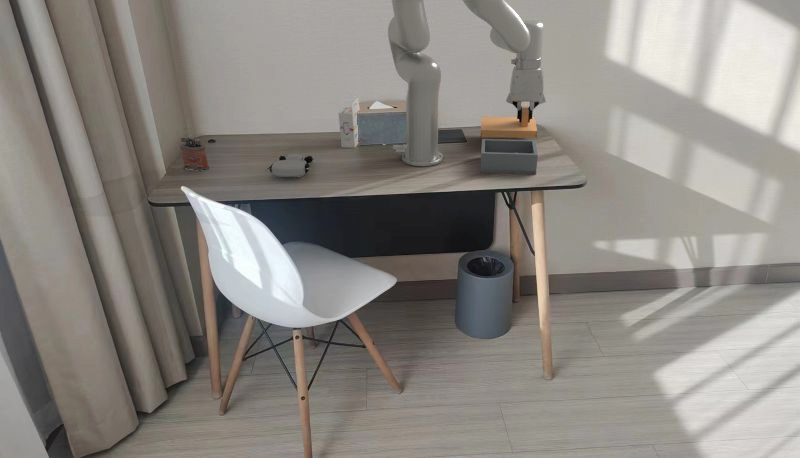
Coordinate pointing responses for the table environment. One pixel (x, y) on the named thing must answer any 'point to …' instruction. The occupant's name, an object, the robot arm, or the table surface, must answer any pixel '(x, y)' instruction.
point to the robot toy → (291, 166)
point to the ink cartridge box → (349, 125)
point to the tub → (508, 156)
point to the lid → (509, 126)
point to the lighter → (194, 154)
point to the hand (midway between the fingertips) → (524, 120)
